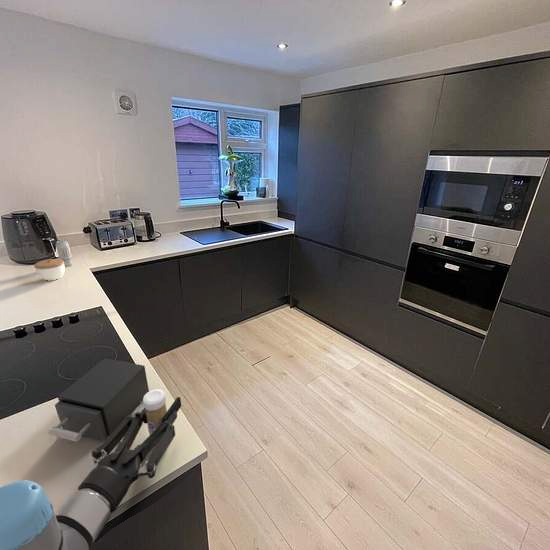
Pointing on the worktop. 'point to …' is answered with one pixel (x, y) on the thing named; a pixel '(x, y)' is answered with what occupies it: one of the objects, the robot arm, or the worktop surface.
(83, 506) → the robot arm
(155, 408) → the sprinkles bottle
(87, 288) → the worktop surface
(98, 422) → the drawer
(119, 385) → the cabinet
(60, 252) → the clear ribbed bottle
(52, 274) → the lidded bowl
